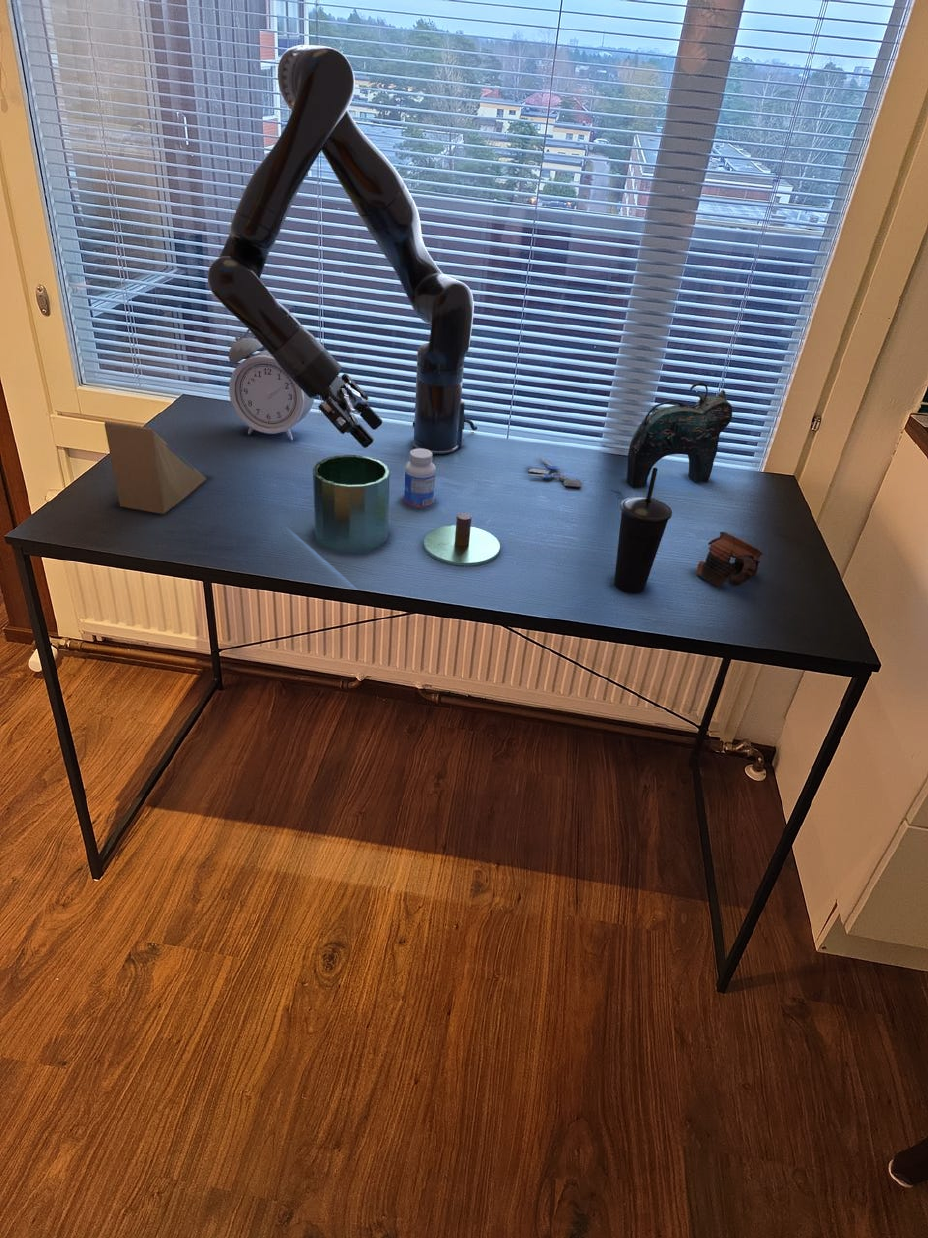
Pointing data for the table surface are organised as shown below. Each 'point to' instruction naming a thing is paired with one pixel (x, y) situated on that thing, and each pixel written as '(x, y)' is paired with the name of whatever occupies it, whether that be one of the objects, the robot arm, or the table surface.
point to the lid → (461, 543)
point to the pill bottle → (419, 478)
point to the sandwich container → (148, 469)
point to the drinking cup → (639, 539)
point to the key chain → (566, 481)
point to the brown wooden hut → (719, 561)
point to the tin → (351, 502)
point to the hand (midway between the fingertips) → (374, 435)
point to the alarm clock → (264, 390)
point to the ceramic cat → (679, 436)
